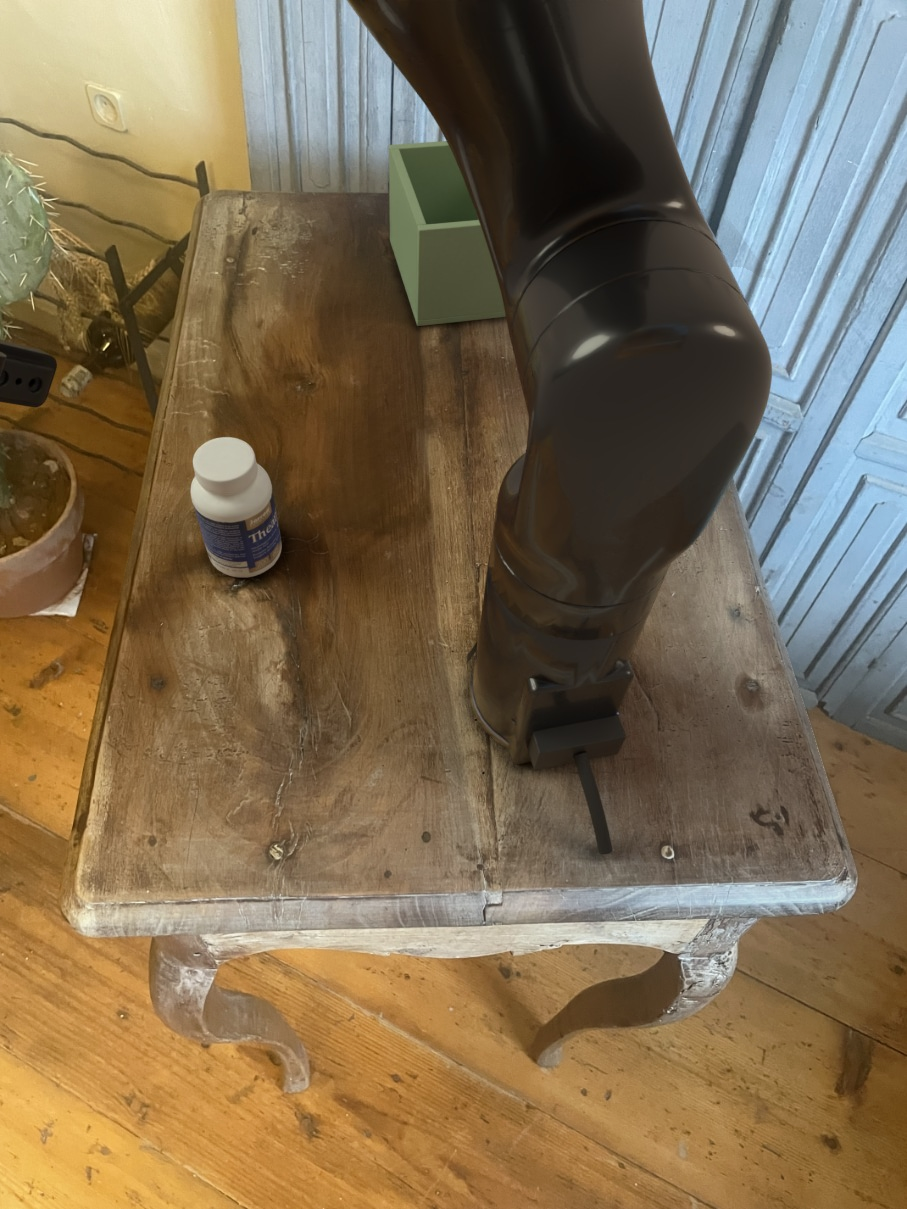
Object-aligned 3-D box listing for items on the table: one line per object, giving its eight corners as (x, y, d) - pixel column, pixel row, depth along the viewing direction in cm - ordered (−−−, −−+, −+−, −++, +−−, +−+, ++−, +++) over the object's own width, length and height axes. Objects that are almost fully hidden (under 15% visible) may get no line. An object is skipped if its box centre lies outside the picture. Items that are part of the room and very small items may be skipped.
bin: (548, 312, 82) (563, 217, 74) (417, 326, 80) (418, 230, 72) (510, 229, 89) (521, 135, 81) (389, 240, 87) (388, 144, 79)
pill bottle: (269, 586, 62) (250, 496, 54) (198, 572, 63) (168, 480, 55) (292, 530, 65) (277, 436, 57) (224, 517, 66) (199, 422, 58)
